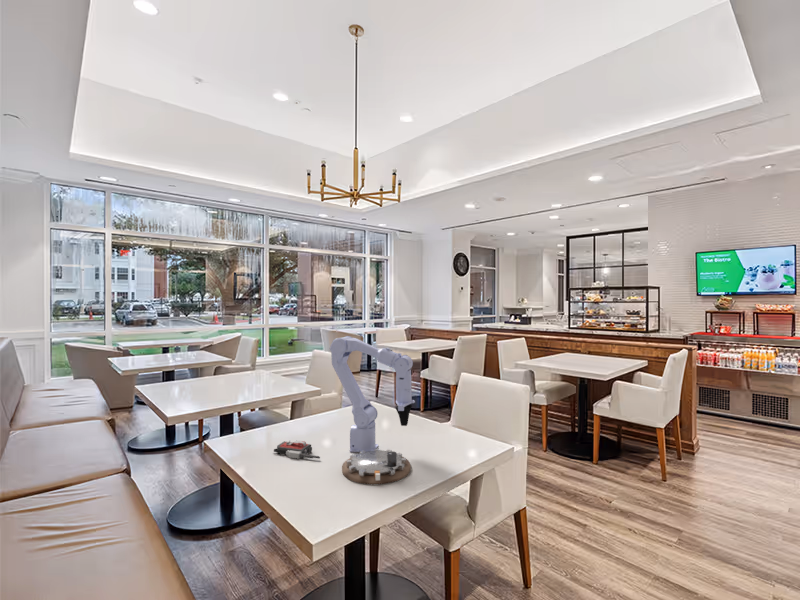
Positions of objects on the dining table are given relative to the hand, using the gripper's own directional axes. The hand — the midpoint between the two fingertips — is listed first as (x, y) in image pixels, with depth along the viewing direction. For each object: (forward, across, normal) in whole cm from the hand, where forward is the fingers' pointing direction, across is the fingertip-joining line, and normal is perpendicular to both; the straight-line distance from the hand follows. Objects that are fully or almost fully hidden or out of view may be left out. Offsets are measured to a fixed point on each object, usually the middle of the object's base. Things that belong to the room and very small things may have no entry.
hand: (404, 425), depth 149 cm
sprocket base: (+10, -15, +7) cm, 20 cm away
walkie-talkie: (+11, -7, +38) cm, 40 cm away
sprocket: (+9, -15, +7) cm, 19 cm away
